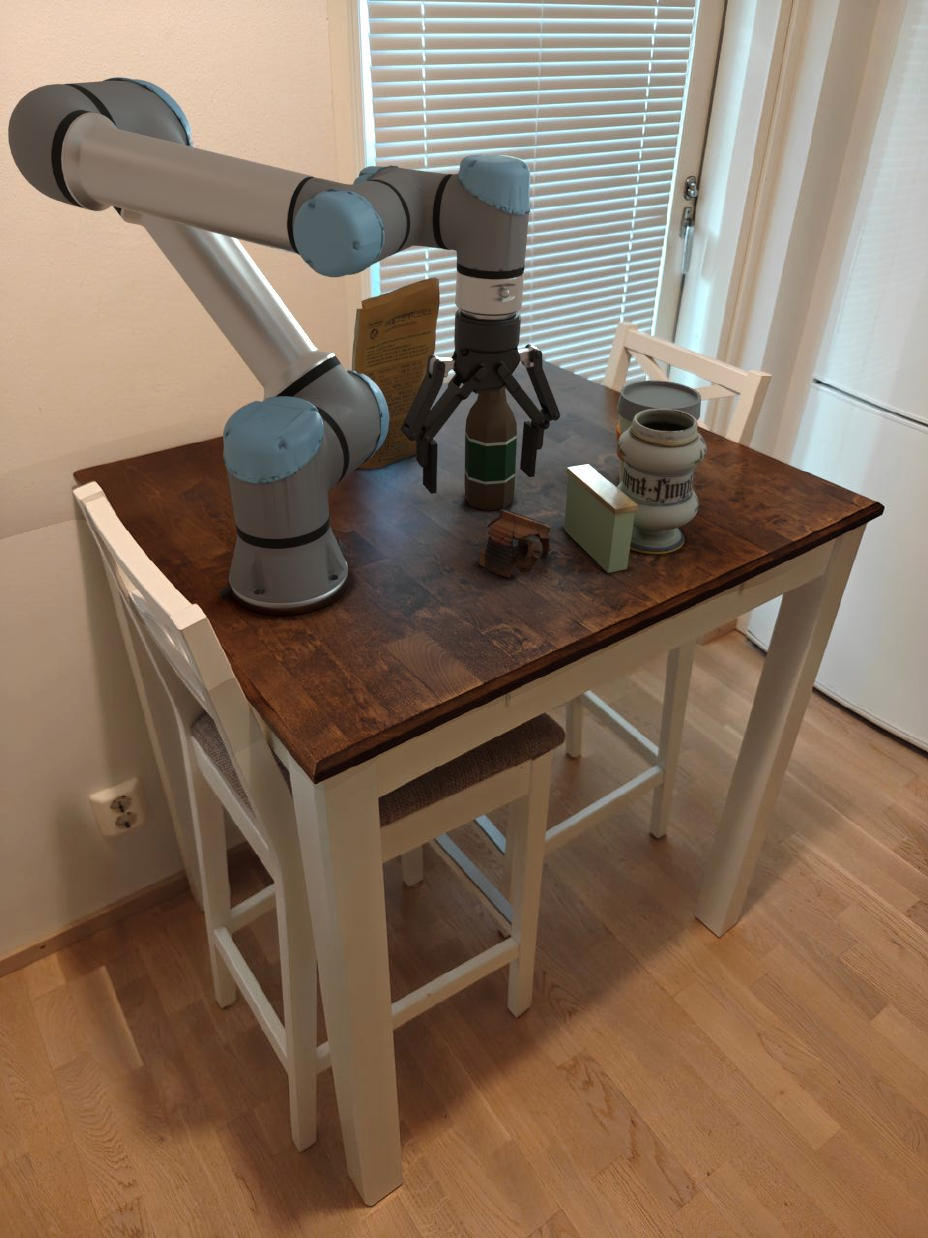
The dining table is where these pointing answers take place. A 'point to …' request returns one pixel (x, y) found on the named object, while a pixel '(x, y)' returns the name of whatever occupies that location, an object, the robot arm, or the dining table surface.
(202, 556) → the dining table surface
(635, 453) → the apothecary jar
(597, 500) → the back wall
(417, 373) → the pancake mix bag
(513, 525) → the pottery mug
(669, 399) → the grey lidded canister
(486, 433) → the beer bottle
